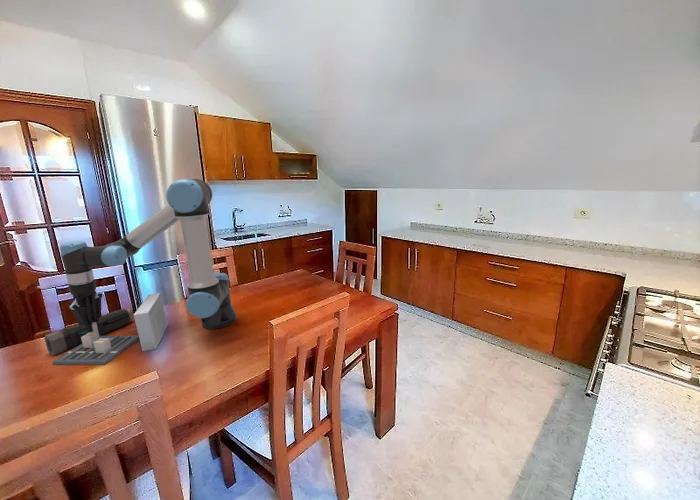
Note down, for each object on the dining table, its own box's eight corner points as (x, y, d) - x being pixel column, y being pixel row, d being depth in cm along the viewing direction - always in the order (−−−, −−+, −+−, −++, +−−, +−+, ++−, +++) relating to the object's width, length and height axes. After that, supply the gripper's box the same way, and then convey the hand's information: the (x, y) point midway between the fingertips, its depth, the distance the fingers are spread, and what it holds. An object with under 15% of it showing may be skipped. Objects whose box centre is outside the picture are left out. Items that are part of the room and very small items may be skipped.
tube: (138, 329, 138) (54, 356, 111) (130, 330, 141) (45, 357, 114) (134, 306, 138) (48, 328, 111) (125, 307, 141) (39, 329, 113)
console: (139, 338, 125) (138, 334, 124) (105, 364, 107) (103, 359, 107) (94, 338, 125) (93, 334, 125) (53, 364, 108) (51, 359, 107)
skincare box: (154, 327, 134) (148, 294, 131) (168, 324, 136) (162, 292, 132) (140, 351, 115) (132, 314, 111) (156, 349, 117) (149, 311, 113)
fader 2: (111, 348, 115) (109, 338, 114) (105, 353, 112) (102, 342, 111) (102, 348, 115) (99, 338, 114) (95, 353, 112) (93, 342, 111)
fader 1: (99, 343, 118) (96, 333, 117) (92, 347, 116) (90, 337, 114) (90, 343, 119) (87, 333, 117) (83, 347, 116) (80, 337, 115)
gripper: (86, 276, 120) (99, 329, 125) (55, 288, 107) (70, 346, 112) (105, 276, 119) (116, 329, 125) (75, 288, 107) (89, 347, 112)
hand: (94, 337), depth 119 cm, fingers closed
